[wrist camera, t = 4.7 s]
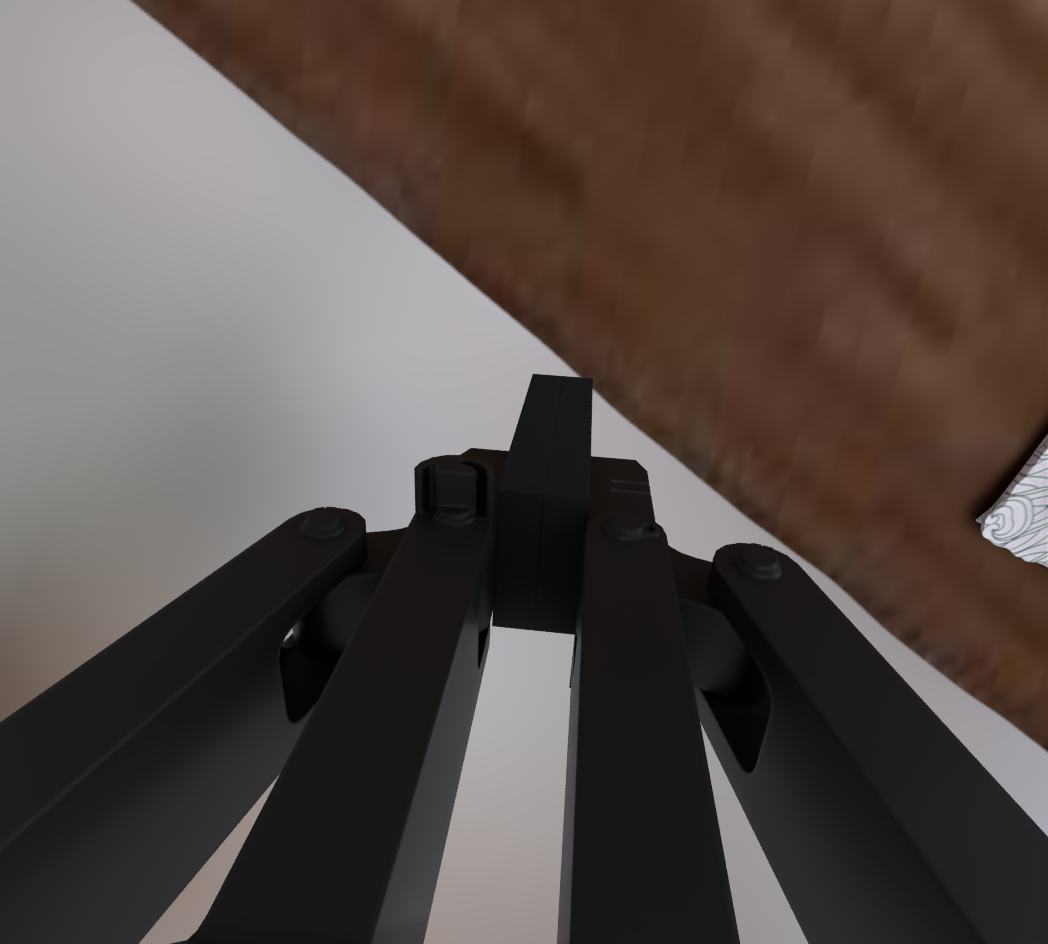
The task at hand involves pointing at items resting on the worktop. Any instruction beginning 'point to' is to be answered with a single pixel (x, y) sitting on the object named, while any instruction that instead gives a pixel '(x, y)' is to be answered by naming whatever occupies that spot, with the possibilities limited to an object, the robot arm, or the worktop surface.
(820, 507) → the worktop surface
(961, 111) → the worktop surface
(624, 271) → the worktop surface
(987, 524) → the cookie jar
